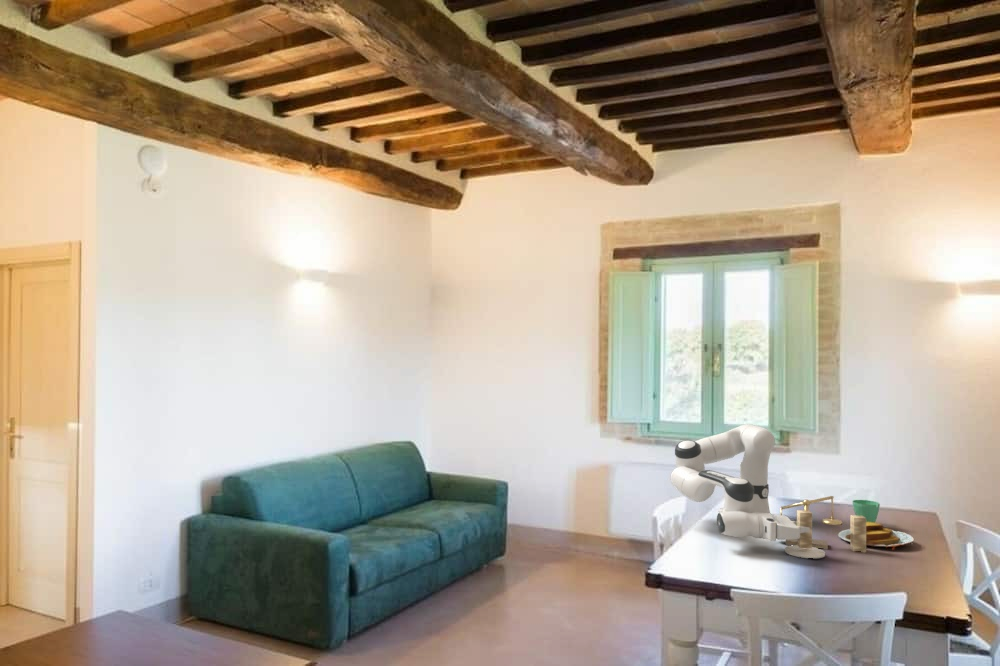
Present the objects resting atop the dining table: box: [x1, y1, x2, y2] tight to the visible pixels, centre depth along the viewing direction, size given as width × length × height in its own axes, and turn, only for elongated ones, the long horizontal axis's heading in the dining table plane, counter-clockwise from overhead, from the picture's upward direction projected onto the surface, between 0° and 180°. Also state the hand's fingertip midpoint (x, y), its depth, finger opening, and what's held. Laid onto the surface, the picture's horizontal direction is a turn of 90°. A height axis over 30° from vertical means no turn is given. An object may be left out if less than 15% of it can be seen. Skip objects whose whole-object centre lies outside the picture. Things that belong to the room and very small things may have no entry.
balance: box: [780, 495, 843, 550], centre depth 261 cm, size 24×7×19 cm, turn 67°
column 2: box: [849, 514, 867, 553], centre depth 254 cm, size 4×4×12 cm
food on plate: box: [837, 521, 915, 551], centre depth 267 cm, size 25×25×7 cm
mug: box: [852, 499, 881, 523], centre depth 292 cm, size 15×10×10 cm
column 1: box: [796, 509, 813, 548], centre depth 248 cm, size 4×4×12 cm
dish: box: [784, 545, 826, 559], centre depth 248 cm, size 13×13×2 cm
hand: (807, 527), depth 248 cm, fingers closed on column 1, 4 cm apart
